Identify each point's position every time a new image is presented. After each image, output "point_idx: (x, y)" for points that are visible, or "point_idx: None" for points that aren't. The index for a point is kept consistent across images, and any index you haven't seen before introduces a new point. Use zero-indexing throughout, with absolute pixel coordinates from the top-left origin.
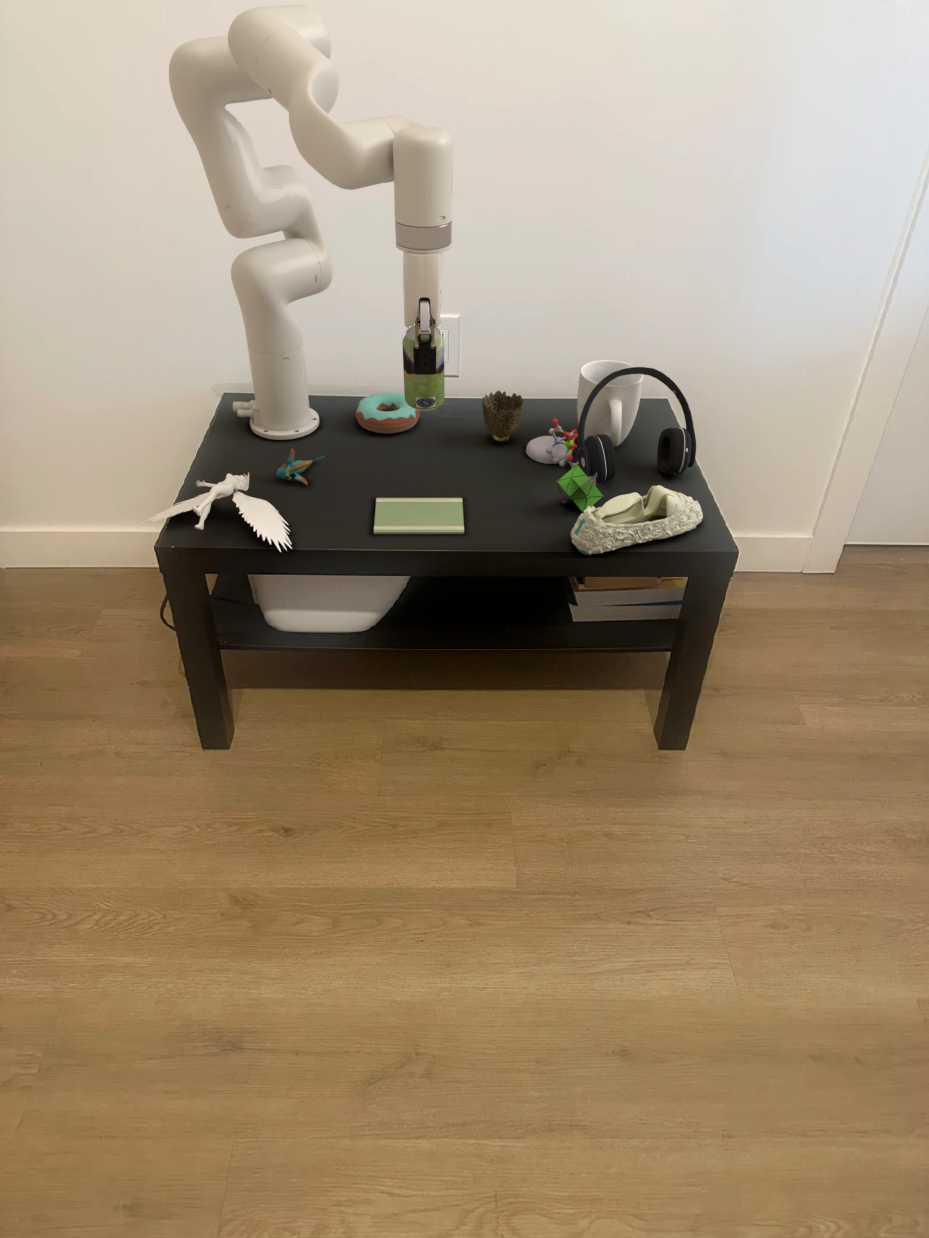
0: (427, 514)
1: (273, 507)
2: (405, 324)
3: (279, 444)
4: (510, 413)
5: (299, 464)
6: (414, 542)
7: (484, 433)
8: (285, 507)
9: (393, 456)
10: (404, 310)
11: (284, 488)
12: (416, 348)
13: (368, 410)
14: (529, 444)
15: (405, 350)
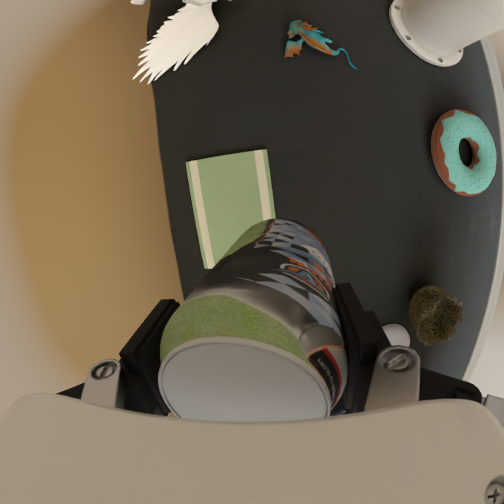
0: (234, 222)
1: (207, 38)
2: (21, 398)
3: (382, 22)
4: (416, 331)
5: (312, 40)
6: (179, 213)
7: (435, 275)
8: (232, 47)
9: (383, 160)
10: (4, 451)
11: (277, 35)
12: (101, 365)
13: (455, 125)
14: (394, 331)
15: (190, 297)
